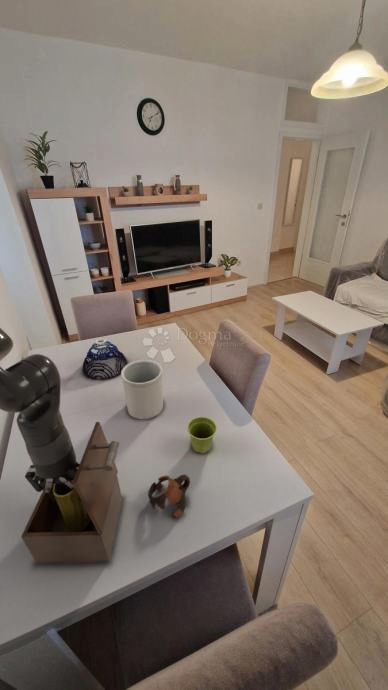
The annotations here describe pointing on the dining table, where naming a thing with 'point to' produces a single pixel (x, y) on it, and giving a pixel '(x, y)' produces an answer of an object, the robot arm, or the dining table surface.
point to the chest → (69, 534)
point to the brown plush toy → (170, 493)
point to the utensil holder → (143, 388)
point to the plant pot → (201, 433)
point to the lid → (97, 476)
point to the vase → (71, 508)
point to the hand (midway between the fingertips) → (70, 497)
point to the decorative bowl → (100, 355)
